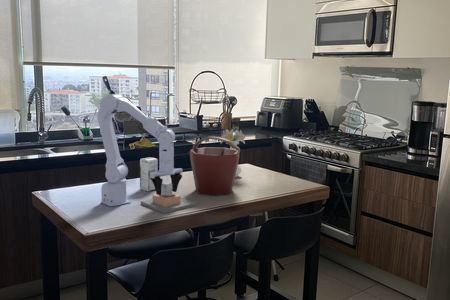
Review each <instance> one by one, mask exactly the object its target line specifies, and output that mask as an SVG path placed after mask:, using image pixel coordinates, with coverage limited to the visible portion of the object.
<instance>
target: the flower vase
mask: <svg viewBox="0 0 450 300" xmlns="http://www.w3.org/2000/svg"><path fill="white" fill-rule="evenodd" d="M222 130H223V129H222ZM222 133H223V134H221V137H220V138H224V139H227V140H230V141H232V142H233V143H234V144H235V145H236V146H238V145H239V144H240V142H242V143H243V144H246V142H245V139H246V135H245V134H244V133H243V132H242V129H240V130H238V129H236V130H235V131H234V129H233V128H232V129H231V130H229V129H227V128H226V129H225V130H223V131H222ZM220 141H221V140H220ZM223 142H224V141H221V142H220V144H223ZM225 144H227V145H229V144H228V143H226V142H225ZM229 146H230V145H229ZM229 149H234V148H232V147H231V146H230V147H229ZM234 150H237V149H234ZM242 171H243V170H242V167H241V166H240V165H239V164H238V166H237V170H236V175H235V178H238V177H239V175H241V173H242Z"/></svg>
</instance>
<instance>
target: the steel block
mask: <svg viewBox="0 0 450 300" xmlns="http://www.w3.org/2000/svg"><path fill="white" fill-rule="evenodd" d="M172 193H173V191H172V182H168V181H162V186H161V195H160V196H162V197H165V198H167V197H172Z"/></svg>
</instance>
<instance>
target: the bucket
mask: <svg viewBox="0 0 450 300" xmlns="http://www.w3.org/2000/svg"><path fill="white" fill-rule="evenodd" d="M209 139H213V140H214V139H215V140H218V141H223V142H224V143H225V144H226V143H228V144H227V145H229V146H231V147H232V148H234V149H236V150H234V149H230V147H229V148H228V147H211V146H210V147H208V146H207V147H205V146H204V147H198V146H199V145H200V144H201V143H203V142H204V141H206V140H209ZM240 153H241V148H240V147H239V146H238V145H235V144H234V143H233V142H232V141H230V140H227V139H224V138H221V137H220V136H206V137H204V138H203V137H202V139H199V140H197V141H195V143H194V144H193V145H192V149H190V150H189V160H190V165H191V170H192V175H193V180H194V181H193V182H194V185H195V190H196V192H197V193H198V194H199V195H205V196H210V197H211V196H212V197H216V196H217V197H218V196H226V195H231V193H232V192H233V188H234V183H235V180H236V179H235V178H236V177H235V175H236V170H237V166H238V165H239V159H240Z"/></svg>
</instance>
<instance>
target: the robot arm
mask: <svg viewBox="0 0 450 300" xmlns="http://www.w3.org/2000/svg"><path fill="white" fill-rule="evenodd" d="M117 112H124V113H125V112H126V113H128V114H129V115H130V116H132V117H133V118H134V119H136V120H137V121H138V122H140V123H141V124H142V128H143V129H144V130H145V131H147V132H148V133H149V134H150V135H151V136H153V137H154V138H156V141H157V142H158V144H159V149H158V150H159V151H158V152H159V154H158V155H159V156H158V157H159V158H158V159H159V160H158V161H159V162H158V164H159V166H158V168H159V170H158V171H155V172H151V173H150V178H151V180H152V182H153V184H154V187H155V190H154V191H155V194H157V195H161V186H162V182H164V179H163V178H162V177H166V176H170V181H171V182H170V183H172V193H177V191H178V187H179V184H180V182H181V179H182V178H183V175H182V174H183V168H181V167H180V168H175V166H174V165H175V158H174V157H175V148H174V141H175V139H176V134H175V132H174V130H173V129H172V128H168V126H167V125H163V124H162V122H160V121H159V119H158V118H157V117H154V116H147V115H146V114H145V113H144V112H143V111H141V110H140V108H138V107H137V106H136V105H135V104H133V103H132V101H130V100H129V99H128V98H127V97H125V96H123V94H121V93H112V94H110V93H109V94H106V95H104V96H103V97H102V98H101V100H100V101H99V108H98V111H97V115H96V116H97V117H96V118H97V121H98V126H99V130H100V134H101V138H102V144H103V147H104V152H105V156H106V163H105V172H104V173H105V178H106V180H107V182H105V183H104V182H103V184H102V185H101V190H100V191H101V201H100V203H101V204H103V205H105V206H108V207H116V206H120V205H125V204H131V202H132V201H131V200H128V199H127V179H126V177H127V176H128V173H129V169H128V166H127V164H126V163H125V162H124V161H125V160H124V159H123V158H122V157H121V153H120V149H119V146H118V140H117V136H116V131H115V128H114V122H113V117H115V115H116V113H117Z"/></svg>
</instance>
